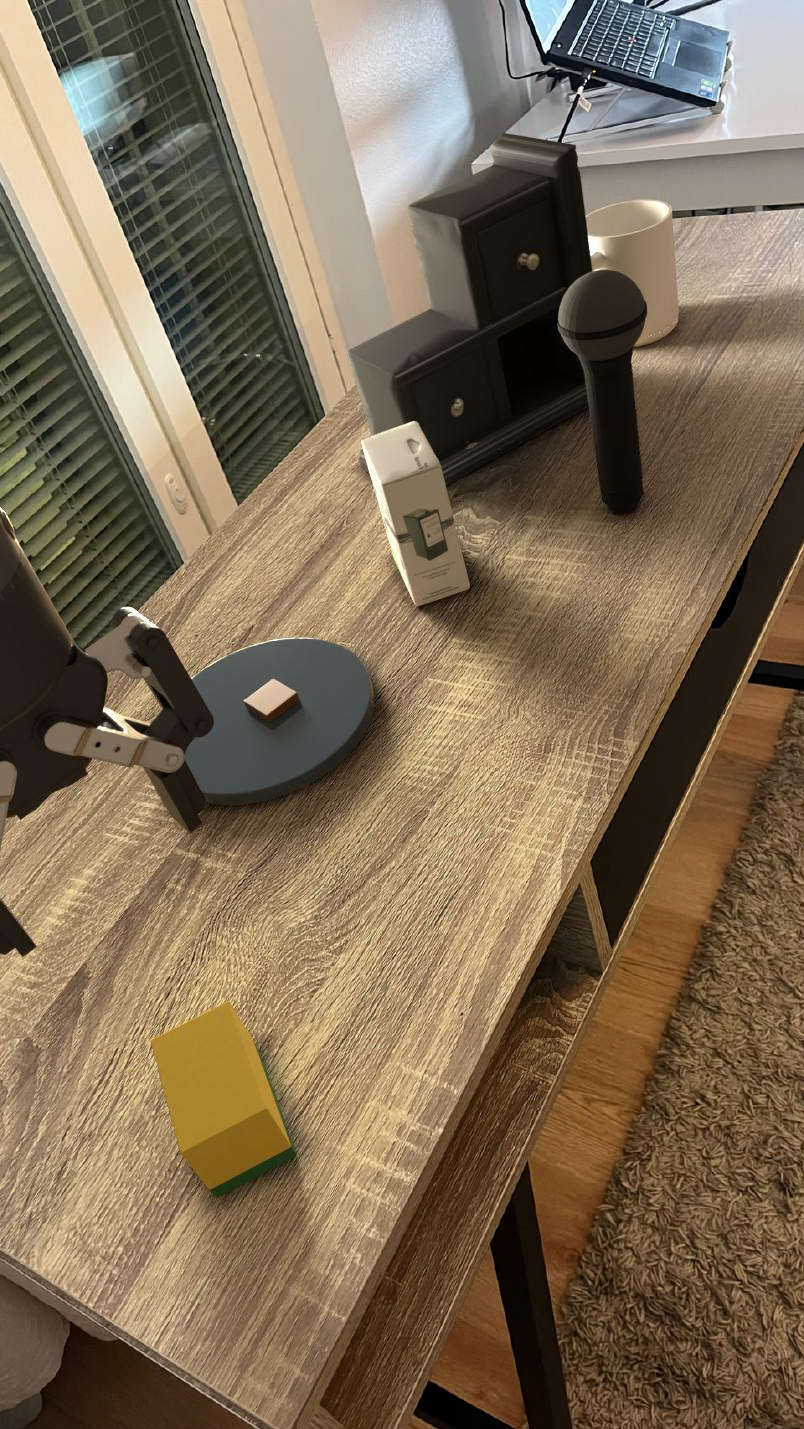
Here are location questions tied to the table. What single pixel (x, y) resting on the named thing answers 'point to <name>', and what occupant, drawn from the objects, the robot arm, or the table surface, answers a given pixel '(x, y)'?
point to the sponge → (221, 1100)
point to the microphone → (609, 376)
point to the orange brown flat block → (271, 700)
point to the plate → (279, 719)
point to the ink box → (416, 512)
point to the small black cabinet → (486, 311)
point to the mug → (639, 256)
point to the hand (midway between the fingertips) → (107, 880)
